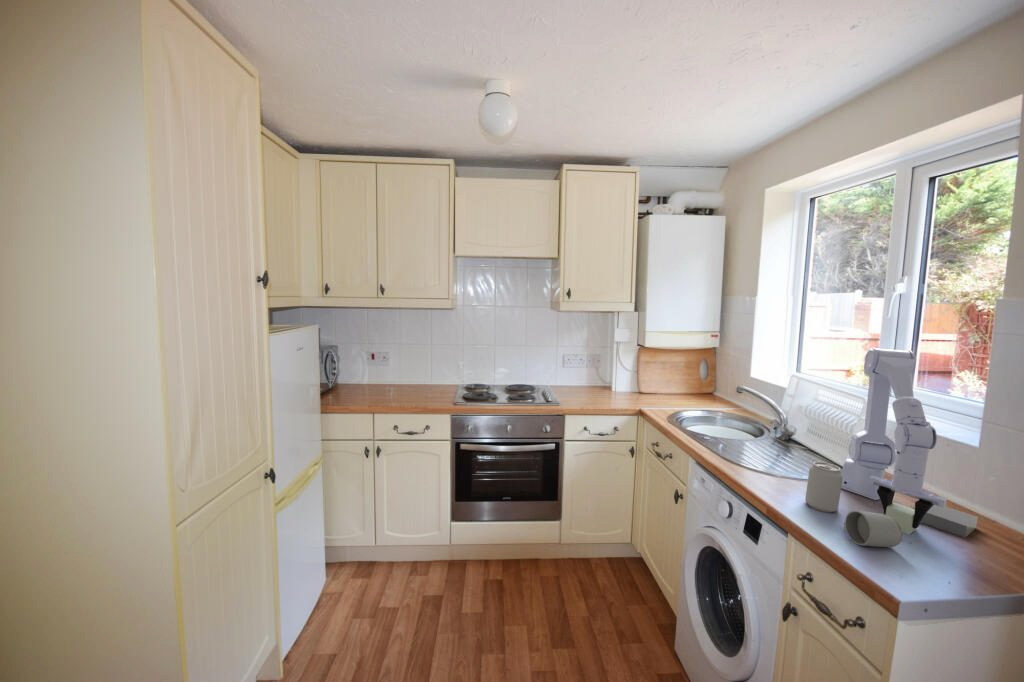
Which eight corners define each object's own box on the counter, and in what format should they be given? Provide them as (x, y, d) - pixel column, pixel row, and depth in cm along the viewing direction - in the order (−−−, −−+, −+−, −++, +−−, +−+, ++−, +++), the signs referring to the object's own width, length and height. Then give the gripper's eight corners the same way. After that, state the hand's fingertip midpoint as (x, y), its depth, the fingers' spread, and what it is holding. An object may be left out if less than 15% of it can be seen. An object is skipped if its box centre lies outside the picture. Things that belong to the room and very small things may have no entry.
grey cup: (903, 554, 98) (907, 521, 98) (867, 552, 98) (872, 520, 98) (864, 529, 109) (868, 500, 108) (832, 528, 109) (836, 498, 108)
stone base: (912, 518, 116) (914, 508, 115) (924, 510, 121) (926, 500, 121) (964, 537, 107) (967, 526, 107) (975, 528, 113) (977, 517, 112)
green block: (884, 524, 112) (886, 506, 111) (891, 520, 114) (894, 502, 114) (909, 534, 107) (912, 515, 107) (916, 529, 110) (919, 510, 110)
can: (798, 502, 122) (804, 461, 120) (815, 499, 125) (821, 458, 123) (826, 515, 115) (833, 472, 113) (844, 511, 118) (850, 469, 116)
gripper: (867, 463, 113) (860, 512, 115) (943, 485, 101) (934, 540, 102) (878, 458, 117) (870, 506, 118) (952, 479, 105) (943, 532, 106)
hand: (900, 521), depth 111 cm, fingers closed on green block, 5 cm apart
